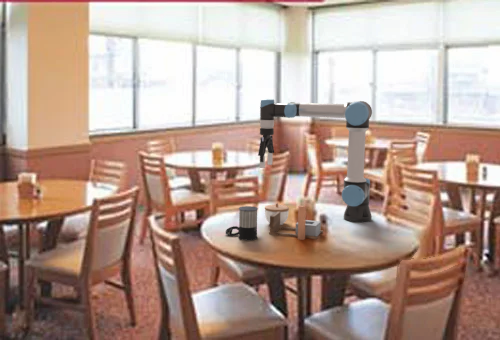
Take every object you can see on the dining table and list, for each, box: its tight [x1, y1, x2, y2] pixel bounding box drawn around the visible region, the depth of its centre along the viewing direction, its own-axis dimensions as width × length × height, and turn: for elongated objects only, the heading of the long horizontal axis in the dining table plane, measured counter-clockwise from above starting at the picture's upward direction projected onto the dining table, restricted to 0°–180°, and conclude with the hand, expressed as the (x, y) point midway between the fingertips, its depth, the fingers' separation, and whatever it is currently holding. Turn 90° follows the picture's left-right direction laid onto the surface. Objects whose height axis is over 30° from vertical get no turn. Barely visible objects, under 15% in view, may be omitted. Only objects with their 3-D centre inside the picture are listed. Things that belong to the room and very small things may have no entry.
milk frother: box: [225, 205, 259, 242], centre depth 293 cm, size 14×16×15 cm
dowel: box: [297, 205, 307, 241], centre depth 290 cm, size 4×4×16 cm
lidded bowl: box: [264, 202, 290, 226], centre depth 320 cm, size 13×13×11 cm
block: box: [295, 219, 322, 237], centre depth 299 cm, size 10×10×6 cm
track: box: [268, 212, 324, 240], centre depth 301 cm, size 24×13×9 cm, turn 71°
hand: (266, 166), depth 334 cm, fingers open, 13 cm apart
